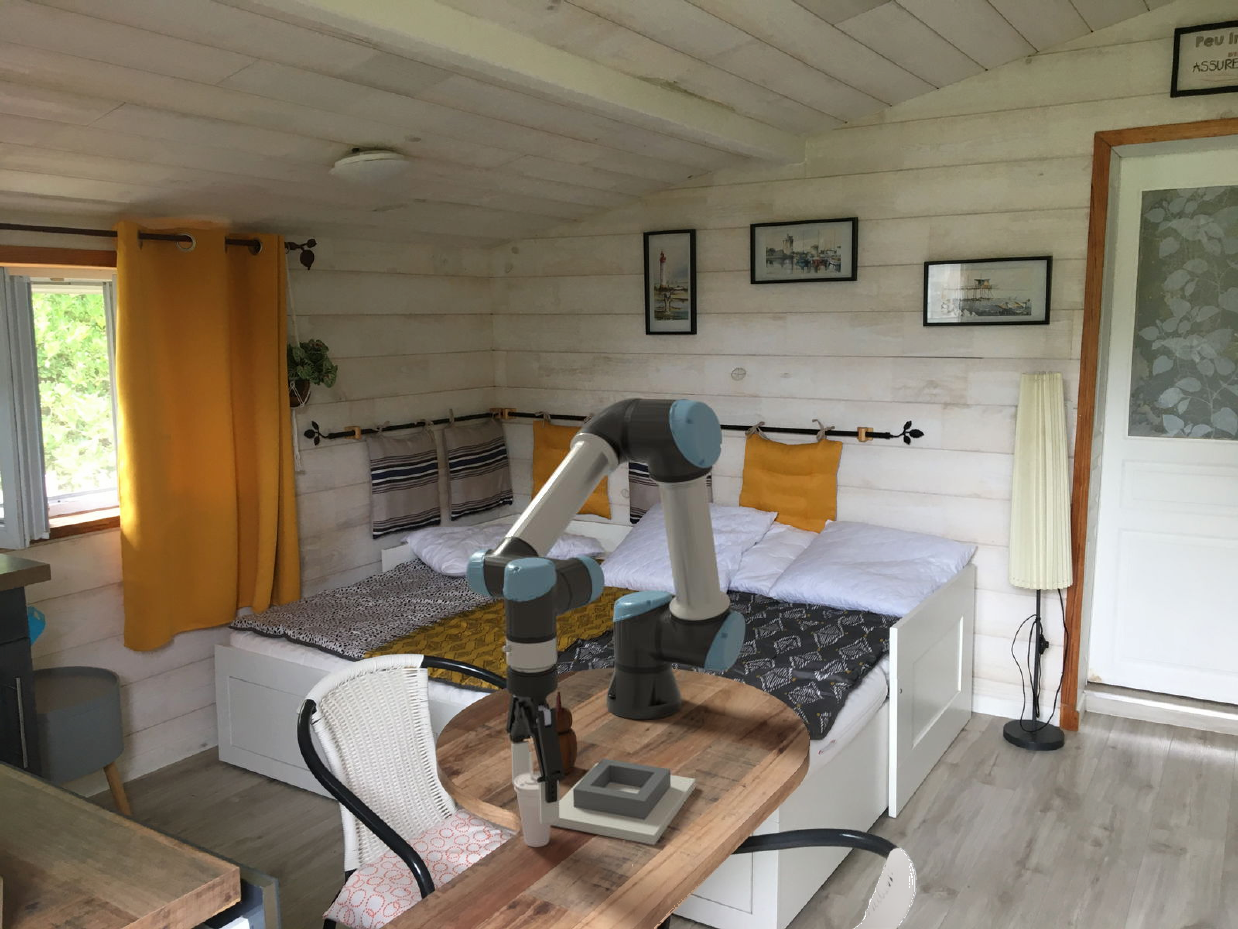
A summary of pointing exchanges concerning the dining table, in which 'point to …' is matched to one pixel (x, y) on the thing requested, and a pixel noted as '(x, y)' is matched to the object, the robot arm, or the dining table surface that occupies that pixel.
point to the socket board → (626, 823)
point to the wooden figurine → (565, 736)
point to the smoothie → (531, 807)
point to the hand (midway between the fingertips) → (534, 801)
